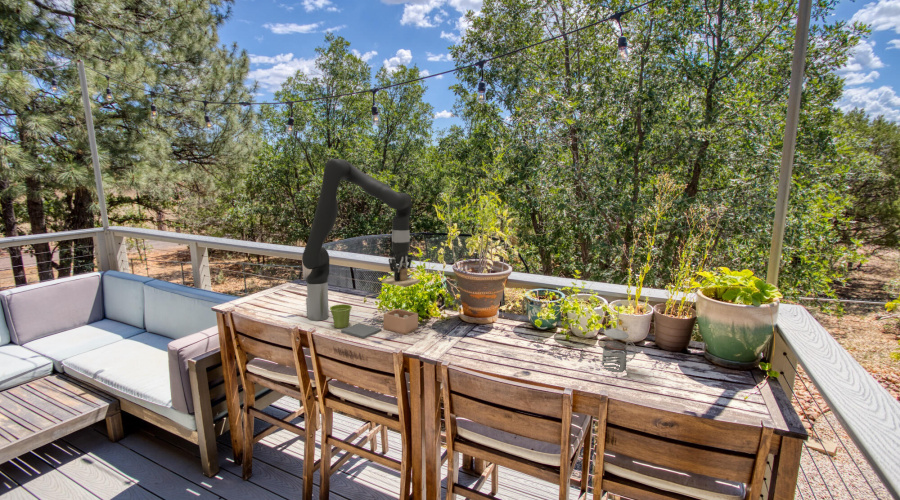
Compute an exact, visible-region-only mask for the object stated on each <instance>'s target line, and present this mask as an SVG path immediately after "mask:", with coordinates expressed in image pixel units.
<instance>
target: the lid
mask: <svg viewBox="0 0 900 500" xmlns="http://www.w3.org/2000/svg"><path fill="white" fill-rule="evenodd" d="M397 269H398V267H397ZM420 282H421V279H418V278H414V277H408V270H407V268H403V267H401V268H400V281H395V273H394V272H393V276H390V277H386V278H383V279H381V283H382V284H387V285H388V284H389V285H392V286H397V287H398V286H399V287H403V288H407V287H411V286H414V285H416V284H418V283H420Z"/></svg>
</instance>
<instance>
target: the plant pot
mask: <svg viewBox="0 0 900 500" xmlns="http://www.w3.org/2000/svg"><path fill="white" fill-rule="evenodd" d="M352 309H353V306H352V305H350V304H341V303H340V304H336V305H332V306H330V307H329V310H330V312H331V316H332V320H333V326H334V328H335V329H345V328H348V327H349V325H350V324H349V323H350V314H351V311H352Z"/></svg>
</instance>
